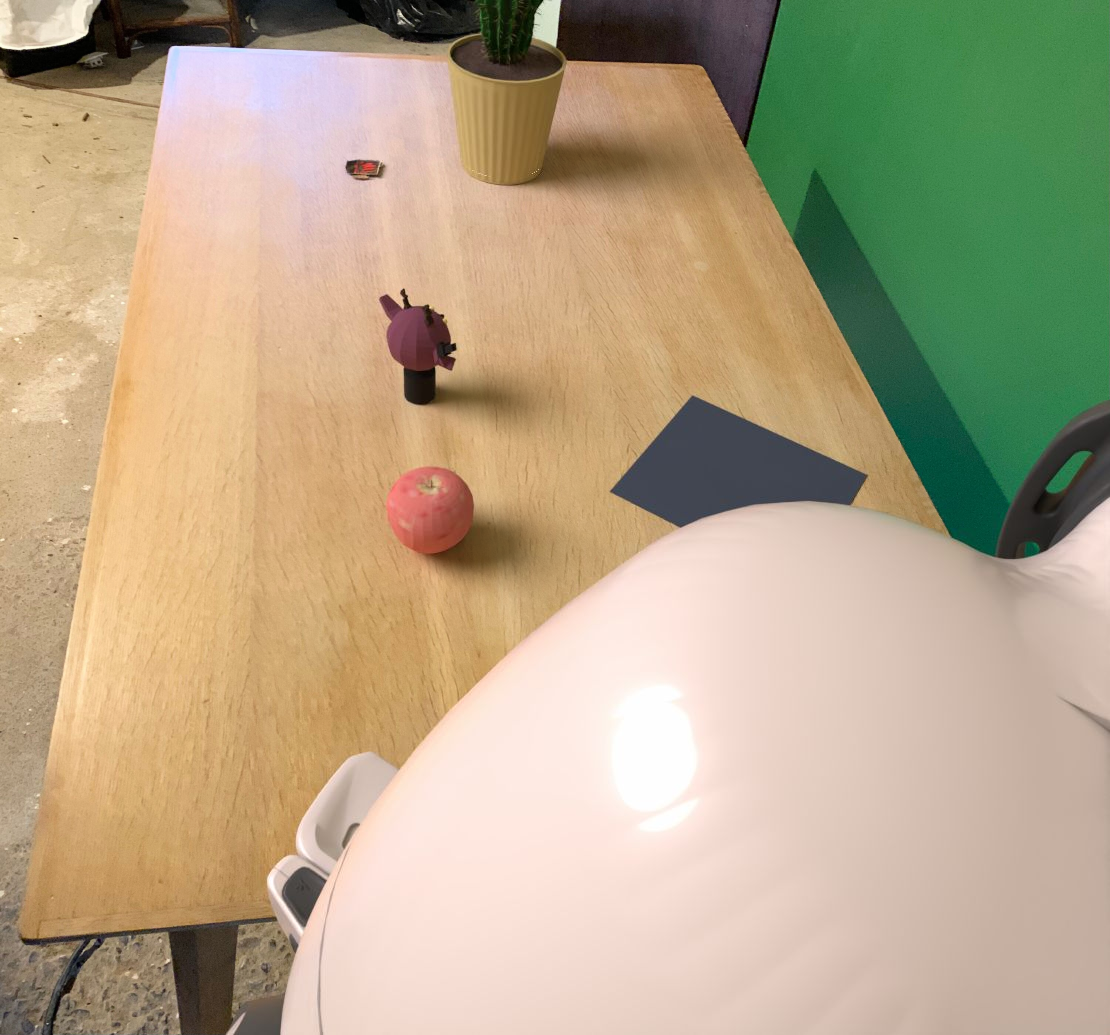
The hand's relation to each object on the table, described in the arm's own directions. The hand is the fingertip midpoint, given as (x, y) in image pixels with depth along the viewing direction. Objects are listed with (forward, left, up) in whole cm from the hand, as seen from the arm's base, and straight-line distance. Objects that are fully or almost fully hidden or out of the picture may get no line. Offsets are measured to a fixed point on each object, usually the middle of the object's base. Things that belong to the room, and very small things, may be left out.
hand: (546, 785), depth 56 cm
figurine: (+37, -35, -13) cm, 52 cm away
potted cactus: (+58, -81, -13) cm, 100 cm away
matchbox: (+71, -67, -13) cm, 98 cm away
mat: (+4, -44, -13) cm, 46 cm away
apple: (+24, -20, -13) cm, 34 cm away
